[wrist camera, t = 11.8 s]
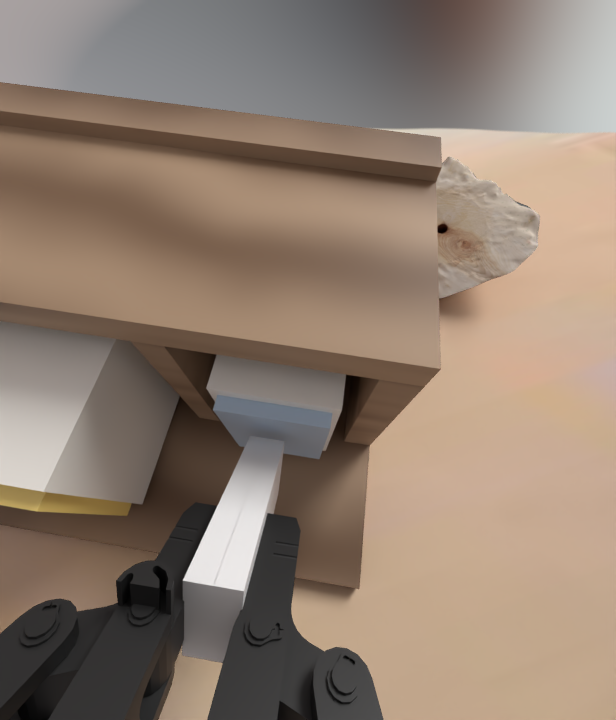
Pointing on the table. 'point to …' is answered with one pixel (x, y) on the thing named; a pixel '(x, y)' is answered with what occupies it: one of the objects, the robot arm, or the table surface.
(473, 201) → the rock
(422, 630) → the table surface
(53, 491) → the mustard key
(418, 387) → the brown boxy piece
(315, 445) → the white and blue block
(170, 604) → the robot arm
